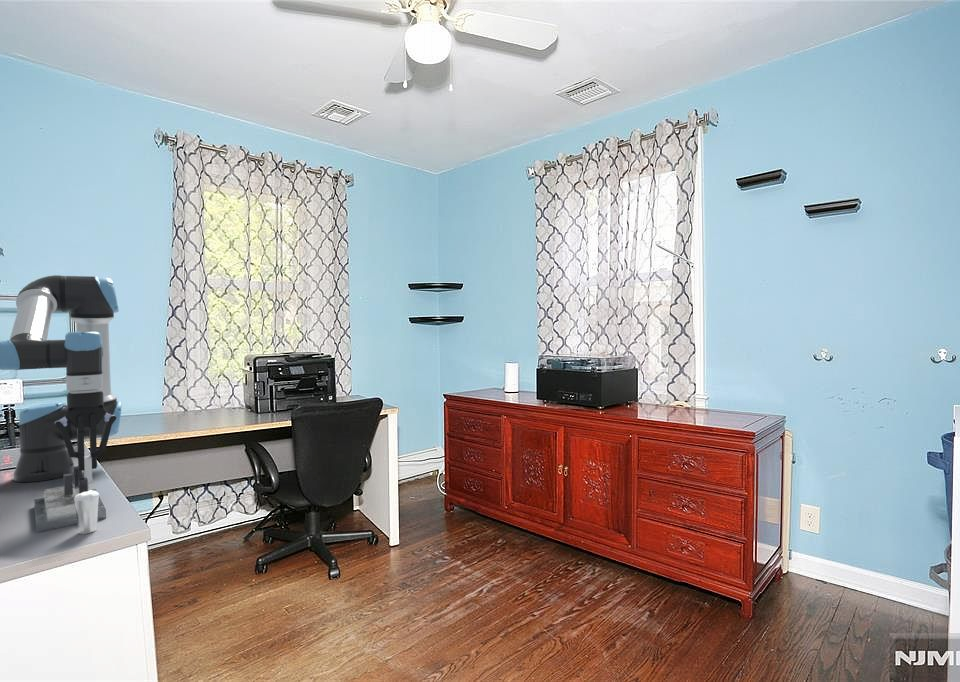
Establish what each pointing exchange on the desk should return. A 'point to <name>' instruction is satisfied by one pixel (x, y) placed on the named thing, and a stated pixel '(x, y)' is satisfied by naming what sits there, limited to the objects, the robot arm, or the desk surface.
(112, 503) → the desk surface
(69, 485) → the breaker
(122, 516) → the desk surface
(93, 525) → the milkshake
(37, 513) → the breaker panel
